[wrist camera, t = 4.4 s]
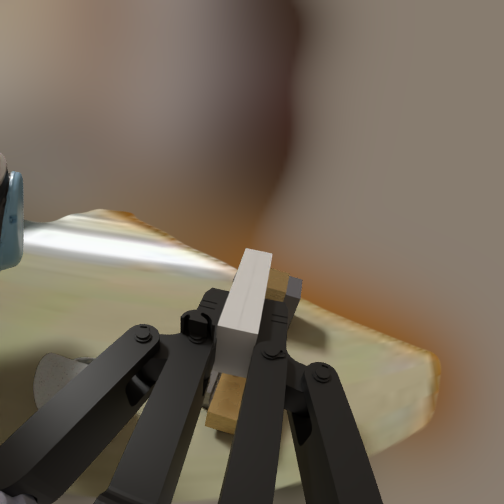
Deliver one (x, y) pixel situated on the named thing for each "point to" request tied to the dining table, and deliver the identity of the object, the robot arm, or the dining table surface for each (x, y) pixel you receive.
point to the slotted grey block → (292, 296)
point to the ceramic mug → (55, 375)
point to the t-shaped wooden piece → (232, 387)
